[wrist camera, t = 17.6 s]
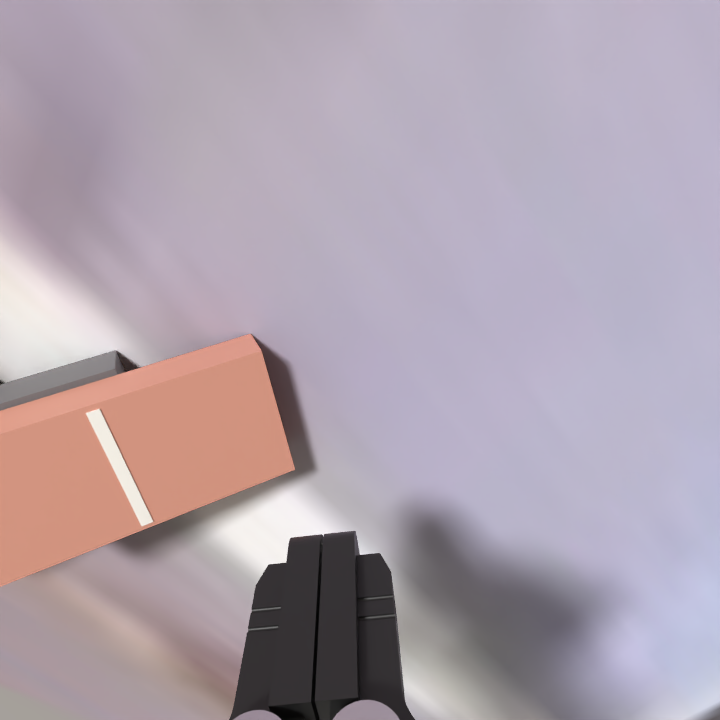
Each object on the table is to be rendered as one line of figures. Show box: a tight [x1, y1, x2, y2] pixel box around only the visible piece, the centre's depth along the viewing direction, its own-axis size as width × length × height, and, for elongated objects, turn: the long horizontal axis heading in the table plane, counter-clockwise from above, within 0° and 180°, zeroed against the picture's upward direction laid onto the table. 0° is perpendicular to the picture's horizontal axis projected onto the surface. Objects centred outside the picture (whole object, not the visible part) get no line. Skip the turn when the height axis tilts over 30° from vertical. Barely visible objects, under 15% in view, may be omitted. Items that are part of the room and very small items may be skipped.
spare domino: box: [0, 334, 295, 587], centre depth 17 cm, size 2×5×11 cm
